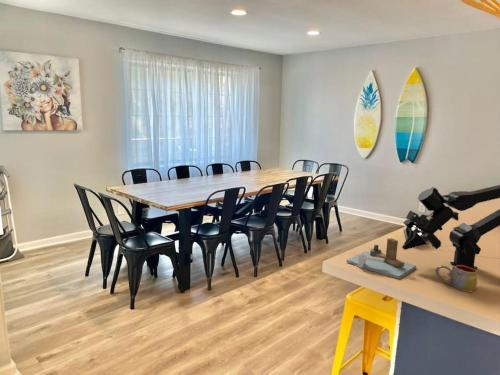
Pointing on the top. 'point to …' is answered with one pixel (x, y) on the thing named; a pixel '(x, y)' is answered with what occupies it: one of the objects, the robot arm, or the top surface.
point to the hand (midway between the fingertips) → (403, 248)
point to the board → (383, 266)
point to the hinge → (407, 233)
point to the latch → (388, 253)
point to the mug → (460, 277)
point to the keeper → (363, 258)
